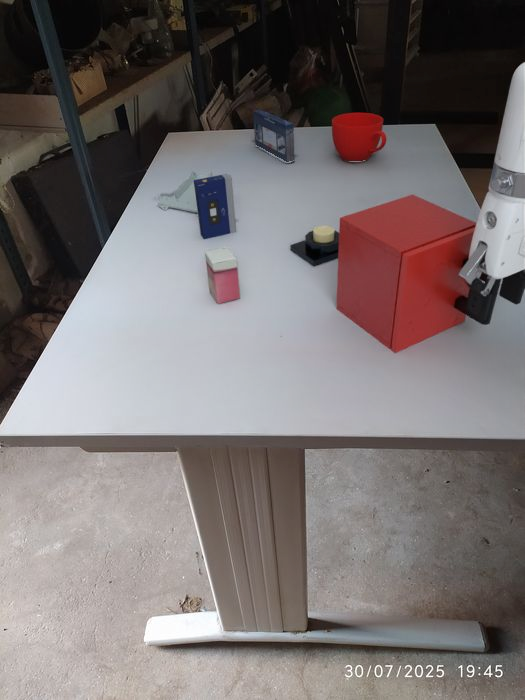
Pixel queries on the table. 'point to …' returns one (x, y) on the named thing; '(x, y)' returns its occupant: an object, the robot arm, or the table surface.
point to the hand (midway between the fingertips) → (492, 306)
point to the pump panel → (316, 249)
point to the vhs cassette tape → (274, 135)
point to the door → (434, 290)
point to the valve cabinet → (385, 257)
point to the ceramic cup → (357, 135)
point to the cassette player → (215, 205)
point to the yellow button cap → (323, 234)
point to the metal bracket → (183, 195)
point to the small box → (222, 274)
